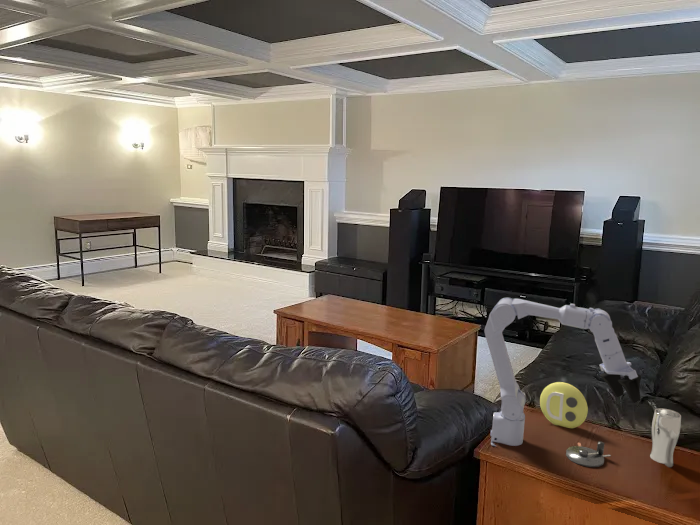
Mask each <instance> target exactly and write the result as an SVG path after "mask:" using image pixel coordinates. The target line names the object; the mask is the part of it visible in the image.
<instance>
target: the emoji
mask: <svg viewBox="0 0 700 525" xmlns="http://www.w3.org/2000/svg"><path fill="white" fill-rule="evenodd" d="M539 406H540V409H541V412H542V414H543V416H544V417H545V418H546V419H547V420H548V421H549V422H550V423H551V424H553V425H554V426H560V427H564V428H567V429H575V428H577V427H580V426H581V425H583V423H584V422H585V421H586V419H587V418H588V417H587V416H588V412H589V411H588V410H589V408H588V403H587V400H586V397H585V396H584V394H583V393H582V392H581V391H580V390H579V389H578V388H577V387H575V386H574V385H573V384H570V383H568V382H562V381H556V382H552V383H550V384H548V385H547V386H545V387H544V388H543V389H542V391H541V394H540V397H539Z"/></svg>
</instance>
